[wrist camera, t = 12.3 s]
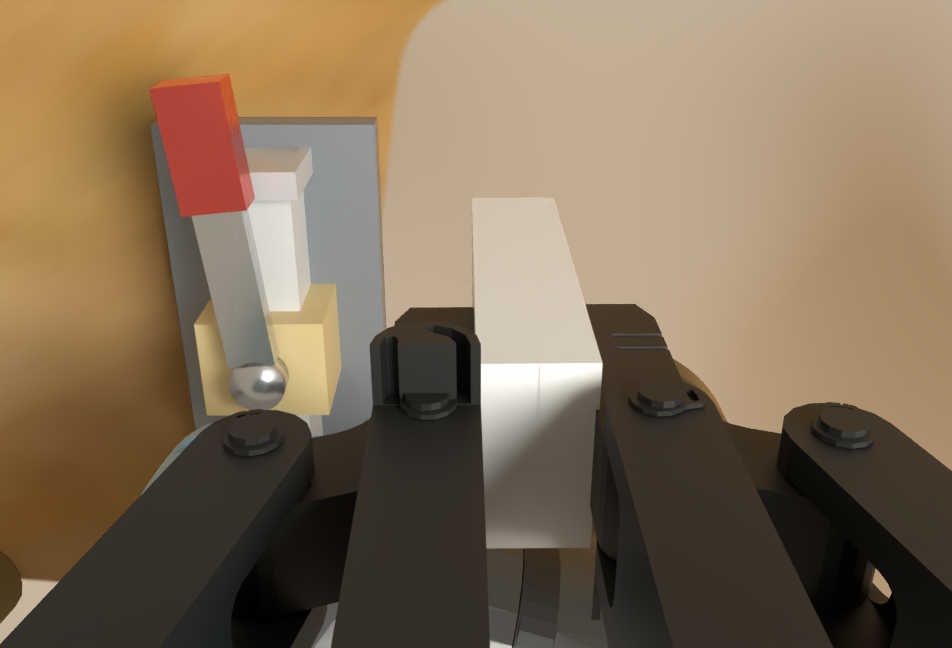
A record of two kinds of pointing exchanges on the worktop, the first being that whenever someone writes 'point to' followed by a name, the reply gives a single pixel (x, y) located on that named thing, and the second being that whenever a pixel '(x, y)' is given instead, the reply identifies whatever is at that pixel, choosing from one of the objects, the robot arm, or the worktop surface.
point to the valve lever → (222, 227)
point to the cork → (8, 586)
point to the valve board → (329, 244)
